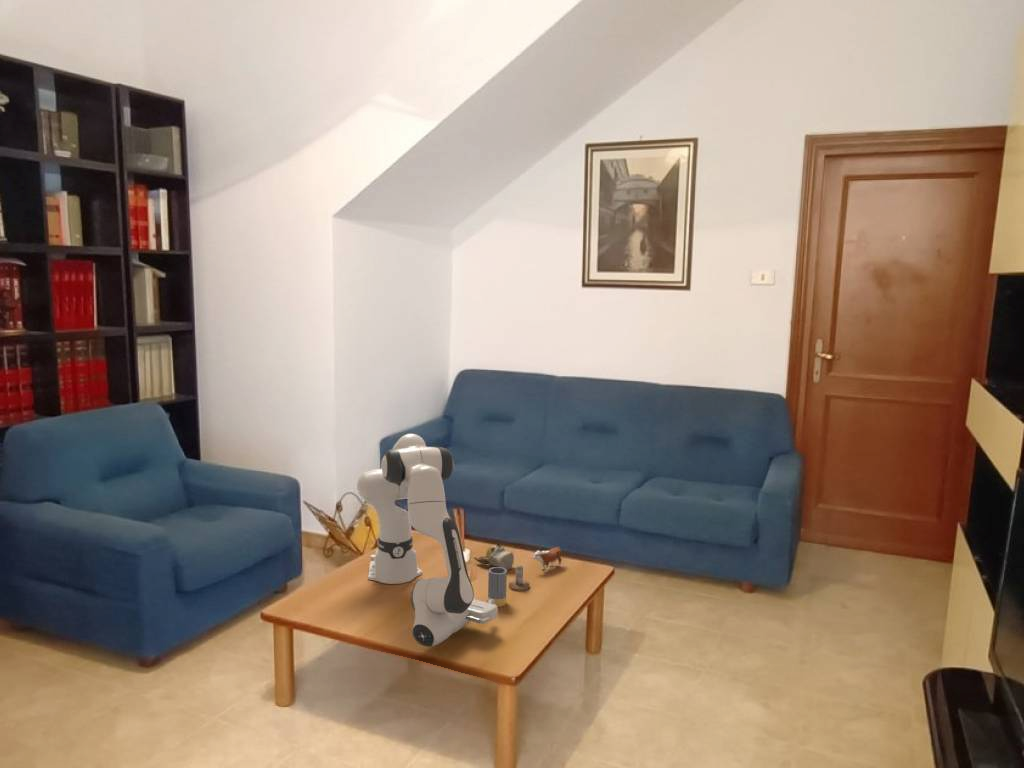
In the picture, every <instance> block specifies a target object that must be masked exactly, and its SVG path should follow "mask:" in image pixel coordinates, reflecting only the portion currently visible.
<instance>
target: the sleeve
mask: <svg viewBox="0 0 1024 768" xmlns="http://www.w3.org/2000/svg"><path fill="white" fill-rule="evenodd" d="M507 572H508V570H507V569H505V568H502V567H496V566H492V567H490V568H489V569H488V582H487V583H488V584H487V585H488V587H487V588H488V589H487V590H488V593H487V596H488V598H487V599H493V604H495V605H497V608H499V607H503V606H505V605H506V604H507V580H508V579H507V578H508V577H507V576H508V575H507V574H508V573H507Z"/></svg>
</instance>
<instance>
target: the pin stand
mask: <svg viewBox="0 0 1024 768" xmlns="http://www.w3.org/2000/svg"><path fill="white" fill-rule="evenodd" d="M508 588H509V589H510V590H512V591H516V592H524V591H527V590H529V589H530V583H529V581H527V580H524V567H523V565H521V564H518V565H517V566H516V567H515V579H514V580H511V581H509V582H508Z"/></svg>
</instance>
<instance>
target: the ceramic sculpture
mask: <svg viewBox="0 0 1024 768" xmlns="http://www.w3.org/2000/svg"><path fill="white" fill-rule="evenodd" d="M473 558H474V560H476V562H478V563H479V564H481V565H490V566H492V567H502V568H505V569H507V571H508V570H510V569H511V568H512V567H513V566H514V562H515V556H514V553H513V551H507V550H506V549H505V547H504V546H503V545H502V544H499V543H497V544H496V545H493V546H489V548H488V549H487V550H486V553H485V555H483V556H479V557H473Z"/></svg>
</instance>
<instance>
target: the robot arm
mask: <svg viewBox="0 0 1024 768" xmlns="http://www.w3.org/2000/svg"><path fill="white" fill-rule="evenodd" d="M454 463H455V462H454V457H453V454H452V452H451V451H450V450H449V449H448V448H445V447H441V446H436V445H434V446H427V444H426V441H425V440H424V439H423V437H422V436H420V435H418V434H416V433H407V434H404V435H402V436H401V437H400V438H399V439H398V440H397V441H396V443H395V444H394V445H393V446H392V449H388V450H386V451H385V452H384V454H383V455H382V459H381V464H380V468H374V469H370V470H367V471H364V472H362V473H361V474H360V476H359V478H358V479H357V484H356V485H357V486H356V487H357V491H358V494H359V496H360V497H361V498H362V500H364V501H365V502H367V503H368V504H370V505H371V506H372V508H373V509H374V511H375V512H376V515H377V516H376V517H377V520H378V534H379V535H378V538H377V548H376V551H375V554H371V555H370V562H369V568H368V569H369V571H368V576H367V578H368V580H369V581H376V582H379V583H382V584H390V585H398V584H404V583H409V582H411V581H413V580H414V579H415V578H417V577H418V576H421V575H422V574H423V570H422V569H421V568H419V567H418V554H417V551H416V550H415V549H414V548H413V545H414V540H413V535H412V528H414V530H415V531H416V532H418V533H420V534H422V535H424V536H427V537H429V538H432V539H433V540H436V541H437V542H438V543H439V544H440V546H441V547H442V548H441V549H442V550H443V556H444V561H445V565H446V571H447V576H446V577H445V576H444V577H427V578H420V579H418V580H417V581H416V582H415V584H414V585H413V587H412V590H411V593H410V601H411V603H410V604H411V606H412V609H413V611H414V615H415V617H414V621H413V622H414V623H413V625H412V629H411V631H412V636H413V638H414V639H415V641H416V642H417V643H418V644H419V645H422V646H423V647H428V648H431V647H434V646H437V645H439V644H441V643H443V642H444V641H445V640H447V639H449V637H451V635H452V634H455V633H457V632H458V631H459V630H461V629H462V628H463V627H465V626H466V625H467V624H468V622H472V623H476V624H479V625H480V624H481V625H484V624H487V623H490V622H491V621H493V620H495V619H496V618H497V617H498V613H499V612H498V610H499V609H498V608H499V607H497V605H495V604H493V599H488V598H487V599H486V601H482V600H479V599H475V598H474V595H475V593H474V587H473V584H472V581H471V579H470V576H469V573H468V569H467V568H468V567H467V563H466V560H465V555H464V550H463V545H462V540H461V535H460V532H459V528H458V526H457V524H456V522H455V521H454V519H452V518H451V517H450V515H449V513H448V510H447V505H446V503H447V502H446V495H445V487H444V481H447V480H449V479H450V477H451V476H452V475H453V473H454V471H453V470H454ZM405 499H407V510H406V509H403V508H401V507H399V506H397V505H395V501H397V500H405Z"/></svg>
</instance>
